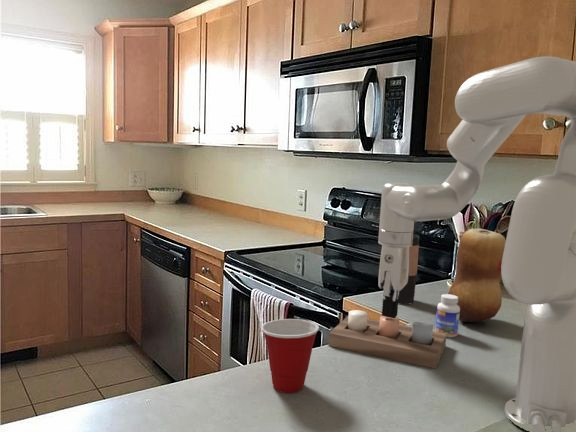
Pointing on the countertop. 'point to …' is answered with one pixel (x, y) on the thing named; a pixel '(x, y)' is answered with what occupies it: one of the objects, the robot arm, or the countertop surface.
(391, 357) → the walnut panel
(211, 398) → the countertop surface
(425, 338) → the slate button
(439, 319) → the pill bottle
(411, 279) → the travel mug
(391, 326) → the terracotta button
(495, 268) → the butternut squash
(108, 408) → the countertop surface
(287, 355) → the plastic cup
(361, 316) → the cream button
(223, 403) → the countertop surface
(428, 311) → the countertop surface
